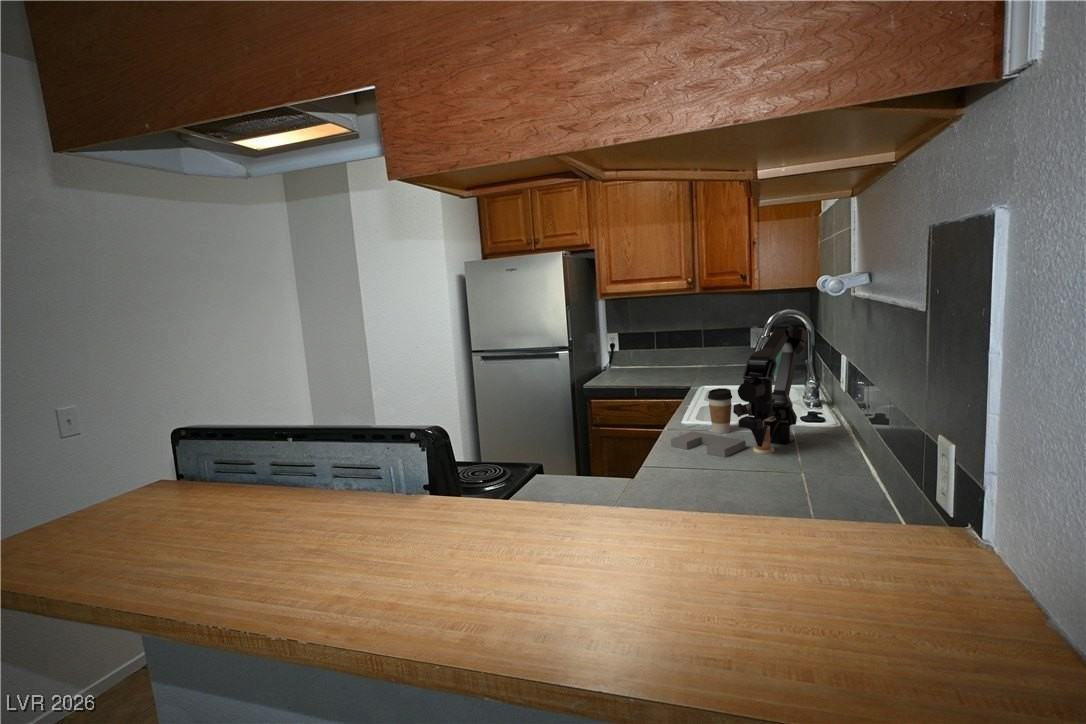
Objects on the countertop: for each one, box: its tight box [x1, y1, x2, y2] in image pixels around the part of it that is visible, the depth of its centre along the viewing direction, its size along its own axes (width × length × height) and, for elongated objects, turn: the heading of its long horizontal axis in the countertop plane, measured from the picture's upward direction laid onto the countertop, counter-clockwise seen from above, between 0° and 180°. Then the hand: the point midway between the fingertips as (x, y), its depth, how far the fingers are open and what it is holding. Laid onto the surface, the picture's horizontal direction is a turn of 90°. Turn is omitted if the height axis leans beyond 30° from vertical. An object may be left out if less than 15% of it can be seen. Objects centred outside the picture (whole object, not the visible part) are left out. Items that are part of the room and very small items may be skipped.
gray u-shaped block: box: [670, 431, 747, 458], centre depth 181 cm, size 12×20×2 cm, turn 40°
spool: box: [752, 425, 775, 455], centre depth 172 cm, size 6×6×8 cm
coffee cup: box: [707, 387, 733, 435], centre depth 198 cm, size 8×8×15 cm
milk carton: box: [769, 331, 782, 383], centre depth 285 cm, size 9×9×25 cm
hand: (763, 445), depth 172 cm, fingers closed on spool, 4 cm apart
